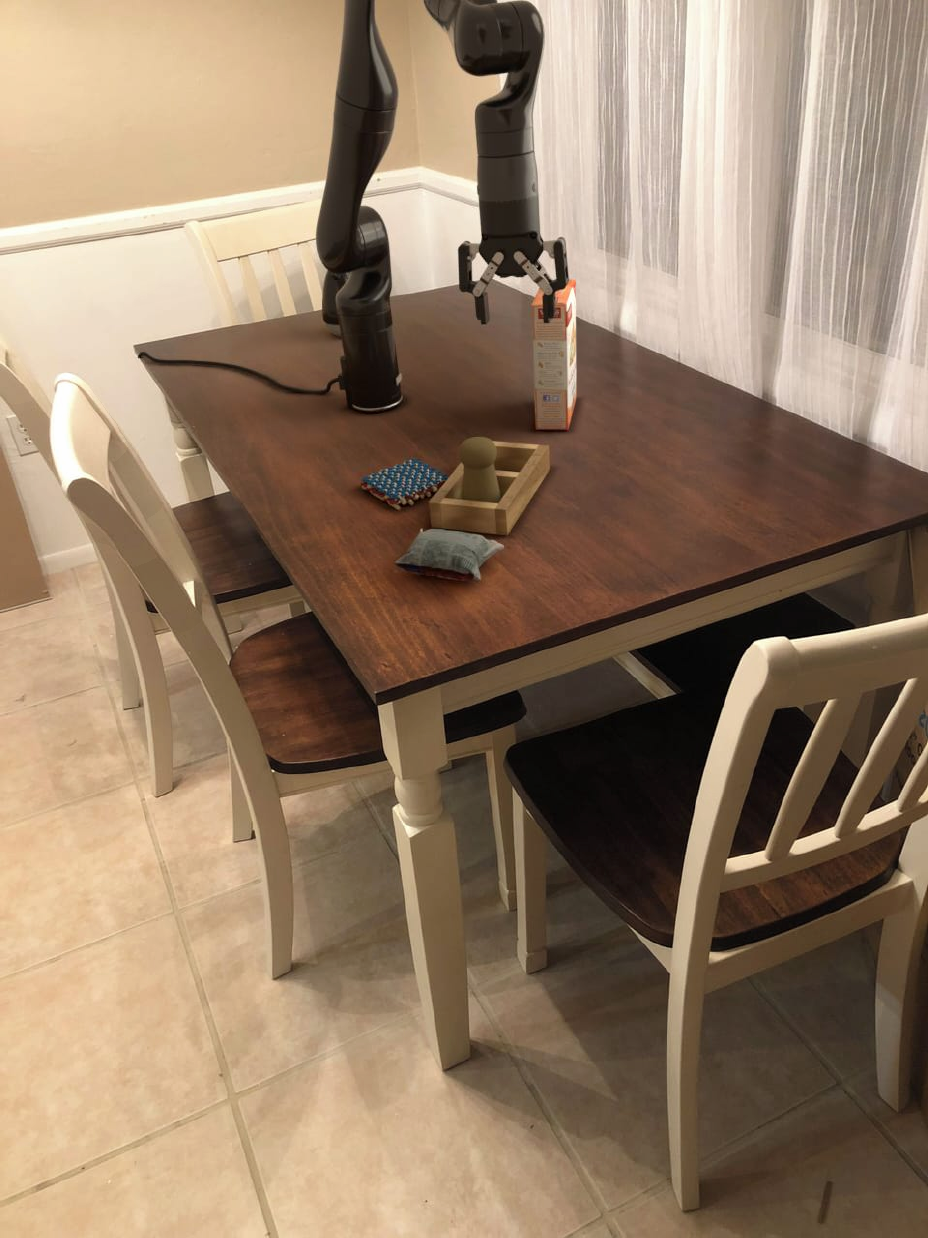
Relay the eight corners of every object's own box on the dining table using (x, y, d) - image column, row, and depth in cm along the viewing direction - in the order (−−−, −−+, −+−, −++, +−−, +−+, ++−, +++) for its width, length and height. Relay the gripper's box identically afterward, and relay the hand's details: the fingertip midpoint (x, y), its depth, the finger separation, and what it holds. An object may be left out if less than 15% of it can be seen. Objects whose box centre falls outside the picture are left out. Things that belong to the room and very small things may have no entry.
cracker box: (571, 431, 156) (567, 302, 144) (534, 431, 157) (528, 303, 146) (579, 399, 167) (577, 276, 156) (545, 399, 169) (540, 278, 157)
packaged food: (424, 546, 129) (420, 514, 126) (505, 558, 124) (503, 525, 122) (395, 579, 123) (390, 546, 120) (479, 594, 118) (476, 560, 115)
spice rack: (431, 527, 133) (428, 502, 131) (481, 463, 149) (479, 439, 147) (507, 535, 129) (505, 509, 127) (550, 469, 145) (549, 445, 143)
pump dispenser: (320, 342, 206) (308, 270, 198) (332, 326, 215) (320, 257, 206) (366, 340, 205) (355, 267, 196) (376, 325, 213) (366, 254, 205)
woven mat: (358, 489, 145) (356, 477, 144) (415, 467, 150) (414, 455, 149) (395, 512, 138) (393, 499, 137) (454, 488, 143) (453, 475, 141)
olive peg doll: (508, 504, 137) (504, 432, 131) (496, 524, 132) (491, 451, 126) (469, 501, 139) (462, 430, 133) (455, 520, 134) (448, 448, 128)
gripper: (569, 183, 120) (573, 312, 129) (460, 189, 124) (471, 314, 133) (559, 195, 114) (564, 330, 123) (445, 201, 118) (457, 331, 127)
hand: (516, 322), depth 128 cm, fingers open, 8 cm apart
